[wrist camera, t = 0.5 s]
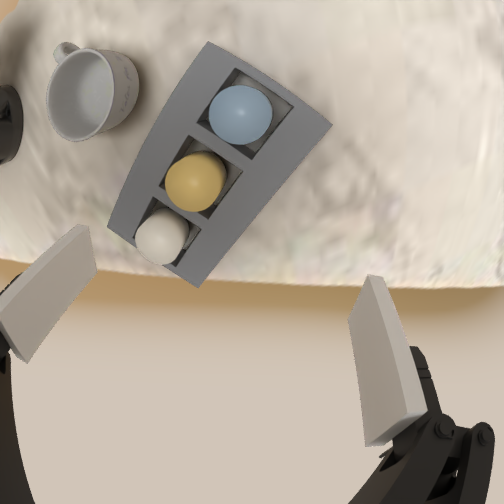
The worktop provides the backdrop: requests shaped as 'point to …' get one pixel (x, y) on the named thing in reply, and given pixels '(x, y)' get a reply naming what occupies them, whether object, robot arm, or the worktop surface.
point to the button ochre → (195, 181)
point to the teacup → (90, 91)
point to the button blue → (240, 114)
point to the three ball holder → (197, 126)
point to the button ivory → (162, 236)
